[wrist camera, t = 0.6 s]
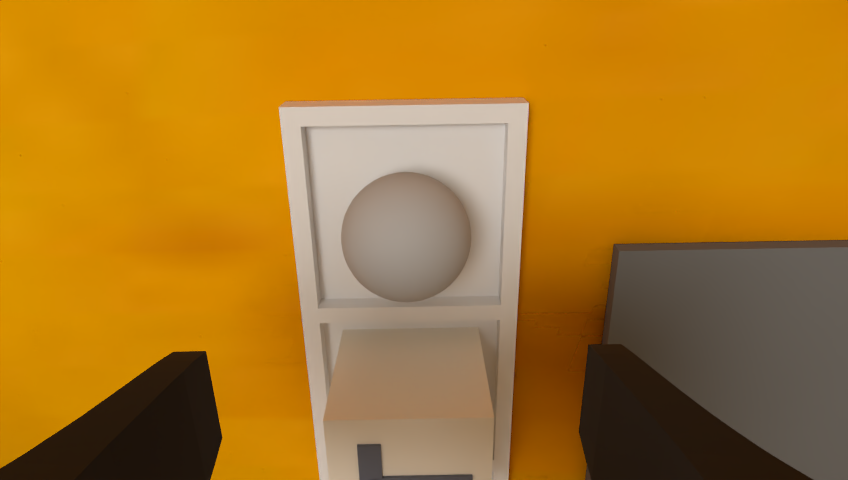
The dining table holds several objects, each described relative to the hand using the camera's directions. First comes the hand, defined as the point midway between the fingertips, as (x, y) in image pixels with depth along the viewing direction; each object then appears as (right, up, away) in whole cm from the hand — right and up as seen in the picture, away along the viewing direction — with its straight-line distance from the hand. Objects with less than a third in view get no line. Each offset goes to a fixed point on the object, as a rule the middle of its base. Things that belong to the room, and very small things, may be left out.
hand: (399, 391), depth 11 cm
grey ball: (0, +4, +9) cm, 10 cm away
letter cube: (0, -3, +12) cm, 12 cm away
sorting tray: (0, -3, +12) cm, 12 cm away
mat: (+13, -2, +12) cm, 18 cm away
